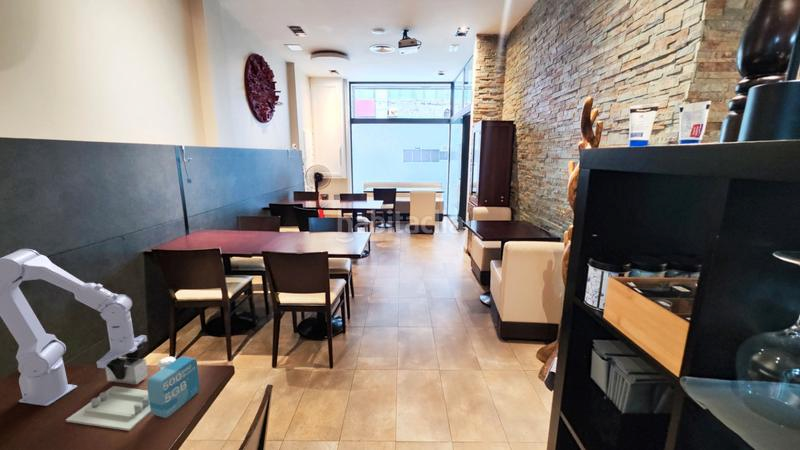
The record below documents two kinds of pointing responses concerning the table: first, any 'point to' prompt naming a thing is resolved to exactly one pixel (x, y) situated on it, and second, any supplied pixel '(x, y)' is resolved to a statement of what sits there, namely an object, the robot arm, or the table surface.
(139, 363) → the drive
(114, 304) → the robot arm
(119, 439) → the table surface
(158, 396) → the data package
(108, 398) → the dock tray
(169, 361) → the milkshake
